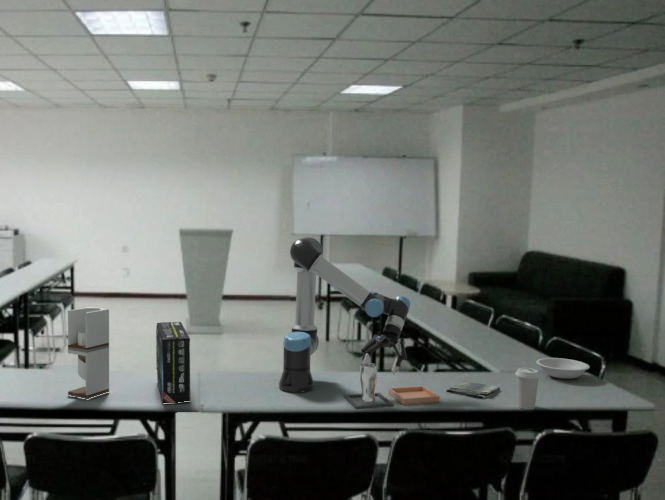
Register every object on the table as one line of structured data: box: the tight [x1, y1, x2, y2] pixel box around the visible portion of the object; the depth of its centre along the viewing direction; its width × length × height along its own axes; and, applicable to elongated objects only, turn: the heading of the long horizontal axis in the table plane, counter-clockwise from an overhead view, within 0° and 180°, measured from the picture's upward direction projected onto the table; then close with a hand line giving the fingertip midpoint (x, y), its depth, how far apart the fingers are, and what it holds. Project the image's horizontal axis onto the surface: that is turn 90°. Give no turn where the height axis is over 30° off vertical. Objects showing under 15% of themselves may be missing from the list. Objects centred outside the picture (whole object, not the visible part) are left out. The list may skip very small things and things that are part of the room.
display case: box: [67, 306, 110, 399], centre depth 256 cm, size 11×11×35 cm
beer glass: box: [359, 362, 378, 405], centre depth 256 cm, size 7×7×15 cm
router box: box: [155, 321, 191, 404], centre depth 263 cm, size 36×11×27 cm, turn 20°
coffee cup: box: [514, 367, 541, 411], centre depth 253 cm, size 10×10×15 cm
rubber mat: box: [342, 392, 395, 410], centre depth 256 cm, size 16×16×1 cm
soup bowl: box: [535, 357, 591, 380], centre depth 301 cm, size 24×24×7 cm
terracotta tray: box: [387, 385, 440, 406], centre depth 262 cm, size 16×16×2 cm
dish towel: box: [445, 380, 501, 400], centre depth 274 cm, size 19×18×3 cm
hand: (377, 370), depth 260 cm, fingers open, 13 cm apart
